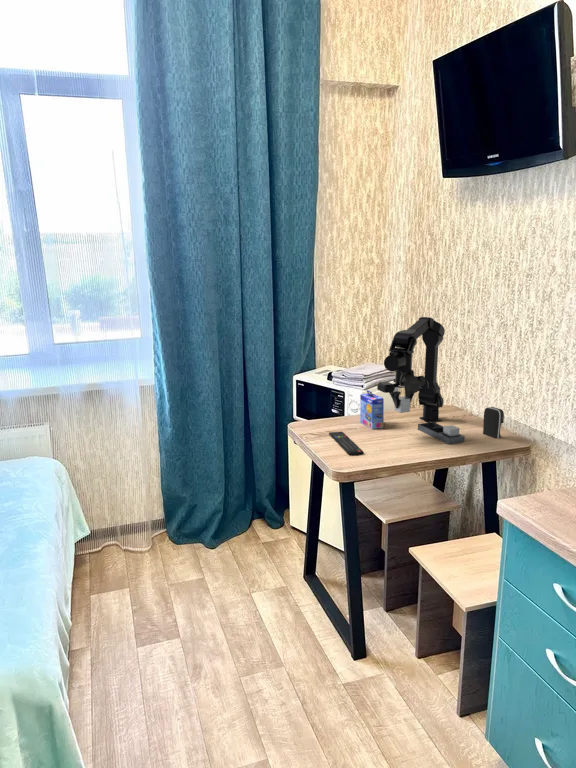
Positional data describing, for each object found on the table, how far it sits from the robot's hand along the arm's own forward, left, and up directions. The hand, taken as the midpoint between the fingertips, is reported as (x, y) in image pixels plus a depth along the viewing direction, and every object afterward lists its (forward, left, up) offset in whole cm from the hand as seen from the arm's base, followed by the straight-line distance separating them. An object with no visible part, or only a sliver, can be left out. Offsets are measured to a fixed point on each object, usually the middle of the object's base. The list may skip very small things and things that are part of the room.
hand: (402, 407), depth 214 cm
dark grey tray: (+6, +13, -11) cm, 18 cm away
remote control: (-1, -23, -12) cm, 26 cm away
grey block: (0, 0, -1) cm, 1 cm away
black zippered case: (+14, +31, -12) cm, 36 cm away
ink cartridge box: (-17, -3, -12) cm, 21 cm away
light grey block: (+13, +13, -11) cm, 21 cm away
